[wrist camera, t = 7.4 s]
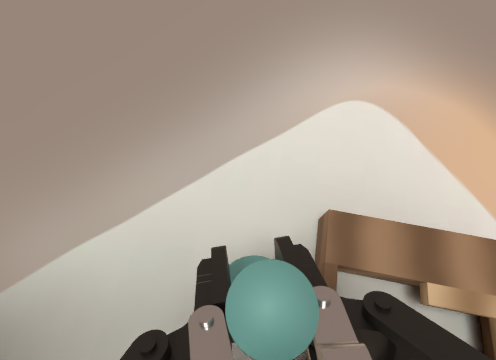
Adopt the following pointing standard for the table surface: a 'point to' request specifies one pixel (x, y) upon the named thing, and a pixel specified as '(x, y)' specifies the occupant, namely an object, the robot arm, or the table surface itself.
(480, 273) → the keyhole plate
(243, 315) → the peg
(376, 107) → the table surface
